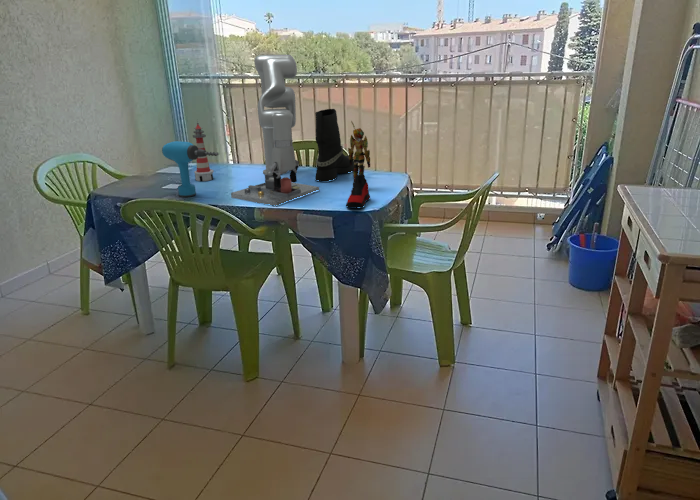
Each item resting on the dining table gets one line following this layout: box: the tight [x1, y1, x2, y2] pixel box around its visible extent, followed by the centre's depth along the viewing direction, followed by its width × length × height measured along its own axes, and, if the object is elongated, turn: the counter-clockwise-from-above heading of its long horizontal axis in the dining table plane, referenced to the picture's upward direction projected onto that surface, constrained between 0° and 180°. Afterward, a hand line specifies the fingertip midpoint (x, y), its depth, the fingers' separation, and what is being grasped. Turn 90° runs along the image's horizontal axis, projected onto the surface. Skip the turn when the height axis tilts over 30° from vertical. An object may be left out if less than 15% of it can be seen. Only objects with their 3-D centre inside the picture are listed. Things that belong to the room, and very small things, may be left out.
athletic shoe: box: [345, 173, 371, 209], centre depth 204 cm, size 8×20×12 cm, turn 167°
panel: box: [230, 182, 320, 207], centre depth 222 cm, size 28×26×4 cm
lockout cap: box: [281, 176, 292, 193], centre depth 215 cm, size 5×5×7 cm
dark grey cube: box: [264, 172, 282, 182], centre depth 230 cm, size 5×5×5 cm
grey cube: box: [264, 178, 281, 190], centre depth 220 cm, size 5×5×5 cm
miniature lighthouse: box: [192, 120, 215, 182], centre depth 245 cm, size 9×9×30 cm
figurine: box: [347, 120, 371, 184], centre depth 223 cm, size 11×7×30 cm
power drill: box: [161, 140, 219, 198], centre depth 217 cm, size 28×9×23 cm, turn 68°
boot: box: [314, 108, 354, 181], centre depth 249 cm, size 12×35×33 cm, turn 154°
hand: (285, 184), depth 215 cm, fingers open, 9 cm apart
